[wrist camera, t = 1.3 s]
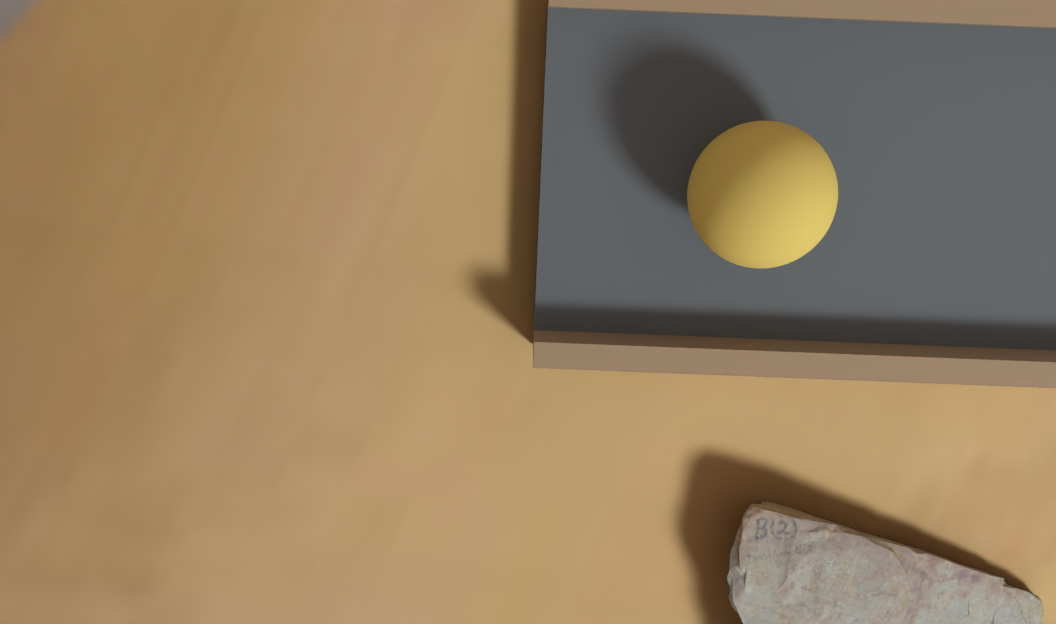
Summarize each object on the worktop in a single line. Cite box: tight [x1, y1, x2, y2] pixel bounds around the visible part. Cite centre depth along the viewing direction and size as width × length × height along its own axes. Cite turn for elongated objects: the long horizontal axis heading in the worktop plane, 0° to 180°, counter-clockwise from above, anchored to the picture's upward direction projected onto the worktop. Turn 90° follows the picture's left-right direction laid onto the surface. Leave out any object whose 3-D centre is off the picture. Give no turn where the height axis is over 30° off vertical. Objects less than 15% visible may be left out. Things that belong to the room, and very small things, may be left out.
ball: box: [687, 121, 838, 269], centre depth 27 cm, size 4×4×4 cm
